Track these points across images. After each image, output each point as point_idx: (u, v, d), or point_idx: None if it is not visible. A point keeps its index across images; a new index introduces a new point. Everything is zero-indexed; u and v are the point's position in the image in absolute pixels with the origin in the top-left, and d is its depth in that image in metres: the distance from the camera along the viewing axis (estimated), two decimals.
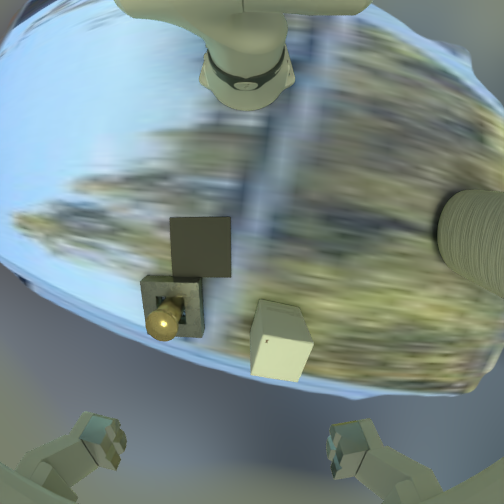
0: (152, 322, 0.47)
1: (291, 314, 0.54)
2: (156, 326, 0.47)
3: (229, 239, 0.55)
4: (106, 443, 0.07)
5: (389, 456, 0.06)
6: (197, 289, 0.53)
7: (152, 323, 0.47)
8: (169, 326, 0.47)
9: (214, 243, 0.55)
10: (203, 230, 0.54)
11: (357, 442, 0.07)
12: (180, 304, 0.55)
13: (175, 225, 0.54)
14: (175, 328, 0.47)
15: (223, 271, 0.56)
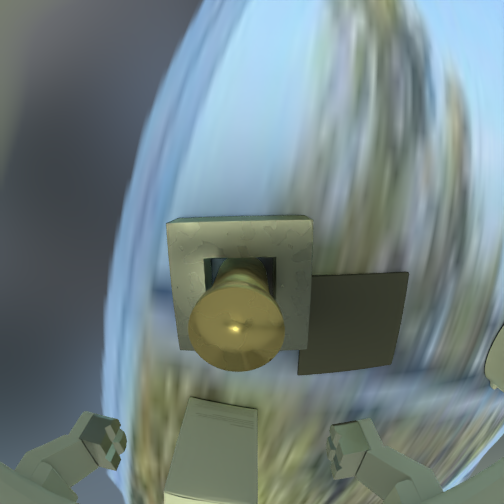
0: (248, 311, 0.17)
1: None
2: (236, 319, 0.17)
3: (360, 367, 0.30)
4: (106, 443, 0.07)
5: (389, 456, 0.06)
6: (293, 347, 0.25)
7: (245, 309, 0.17)
8: (240, 355, 0.17)
9: (358, 348, 0.29)
10: (381, 330, 0.29)
11: (357, 442, 0.07)
12: None
13: (396, 283, 0.28)
14: (236, 368, 0.18)
15: (309, 364, 0.30)
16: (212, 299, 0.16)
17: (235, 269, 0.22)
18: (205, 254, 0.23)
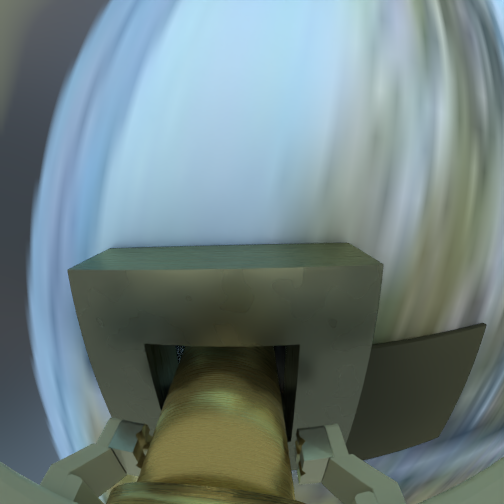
0: None
1: None
2: None
3: (401, 449, 0.17)
4: (137, 450, 0.07)
5: (352, 465, 0.06)
6: None
7: None
8: None
9: (403, 430, 0.16)
10: (437, 404, 0.16)
11: (320, 448, 0.07)
12: None
13: (469, 342, 0.15)
14: None
15: None
16: None
17: (209, 381, 0.09)
18: (146, 336, 0.10)
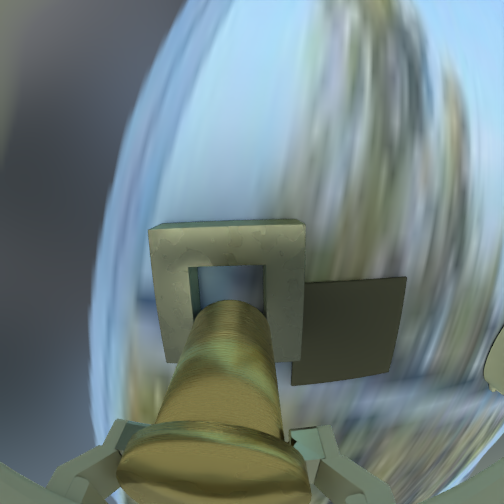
0: (235, 484, 0.05)
1: None
2: (210, 491, 0.06)
3: (356, 376, 0.29)
4: None
5: (344, 466, 0.06)
6: (285, 359, 0.24)
7: (227, 482, 0.05)
8: None
9: (354, 357, 0.28)
10: (378, 338, 0.28)
11: (312, 449, 0.07)
12: None
13: (393, 289, 0.26)
14: None
15: (302, 374, 0.28)
16: (152, 462, 0.05)
17: (214, 350, 0.11)
18: (190, 262, 0.21)
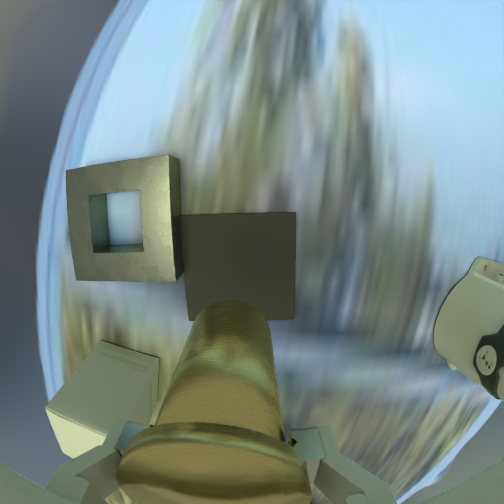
0: (236, 485, 0.05)
1: (149, 413, 0.30)
2: (210, 492, 0.06)
3: None
4: None
5: (344, 466, 0.06)
6: (162, 279, 0.27)
7: (228, 483, 0.05)
8: None
9: (248, 295, 0.31)
10: (271, 276, 0.30)
11: (312, 449, 0.07)
12: None
13: (281, 224, 0.29)
14: None
15: (197, 309, 0.31)
16: (152, 464, 0.05)
17: (214, 350, 0.11)
18: (89, 192, 0.25)
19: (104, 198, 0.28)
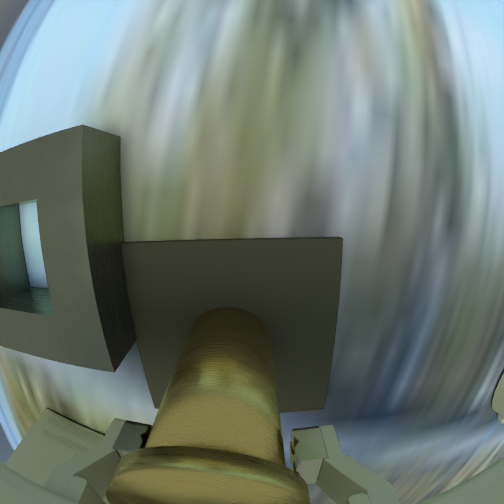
0: None
1: None
2: None
3: None
4: None
5: (347, 466, 0.06)
6: (92, 365, 0.12)
7: None
8: None
9: None
10: (292, 352, 0.16)
11: (315, 449, 0.07)
12: None
13: (314, 260, 0.15)
14: None
15: None
16: (141, 489, 0.04)
17: (210, 363, 0.10)
18: None
19: (14, 213, 0.14)
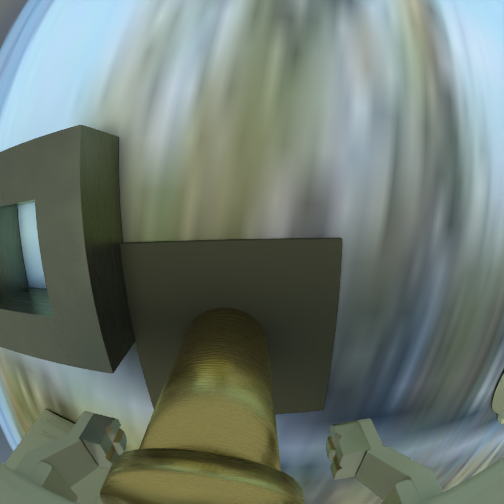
0: None
1: None
2: None
3: None
4: (106, 443, 0.07)
5: (389, 456, 0.06)
6: (91, 366, 0.12)
7: None
8: None
9: None
10: (291, 353, 0.16)
11: (357, 442, 0.07)
12: None
13: (314, 261, 0.15)
14: None
15: None
16: (134, 490, 0.04)
17: (205, 364, 0.10)
18: None
19: (13, 213, 0.14)
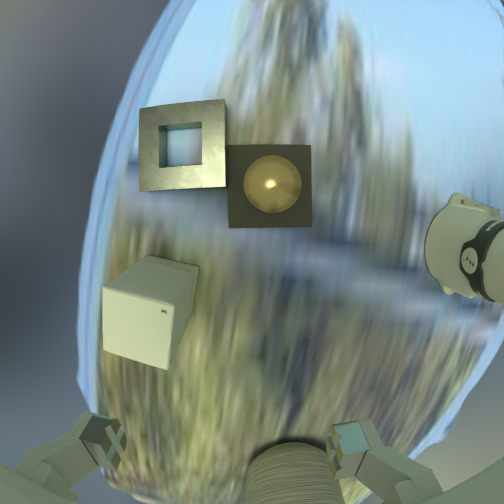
0: (280, 169, 0.28)
1: (187, 315, 0.39)
2: (273, 174, 0.28)
3: (282, 225, 0.41)
4: (106, 443, 0.07)
5: (389, 456, 0.06)
6: (215, 185, 0.36)
7: (278, 168, 0.28)
8: (274, 199, 0.29)
9: None
10: None
11: (357, 442, 0.07)
12: None
13: (300, 152, 0.38)
14: (271, 209, 0.29)
15: (236, 217, 0.41)
16: (260, 162, 0.28)
17: None
18: (160, 123, 0.34)
19: (166, 133, 0.38)
